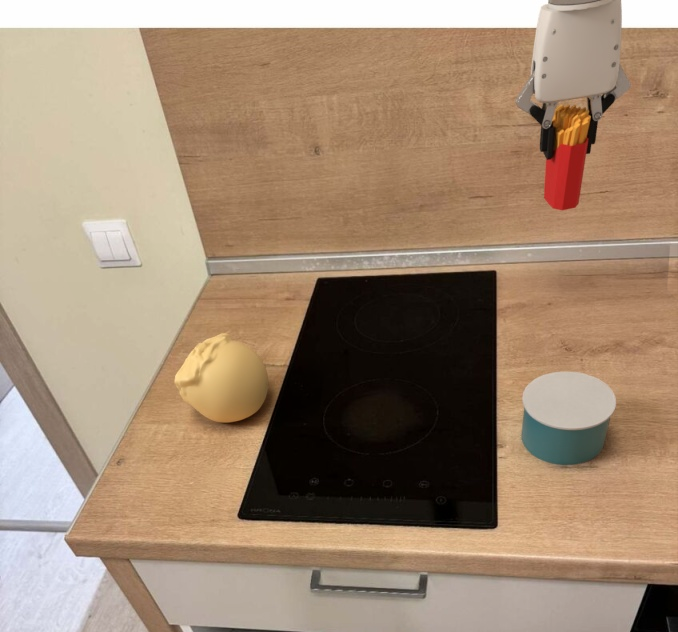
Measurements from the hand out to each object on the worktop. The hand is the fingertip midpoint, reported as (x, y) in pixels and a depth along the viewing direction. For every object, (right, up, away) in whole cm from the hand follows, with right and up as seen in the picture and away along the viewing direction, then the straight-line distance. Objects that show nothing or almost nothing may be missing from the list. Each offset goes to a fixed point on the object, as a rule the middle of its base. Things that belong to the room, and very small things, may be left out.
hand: (566, 151), depth 85 cm
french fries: (+1, -5, +5) cm, 7 cm away
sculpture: (-47, -35, +6) cm, 58 cm away
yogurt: (-4, -41, -9) cm, 42 cm away
